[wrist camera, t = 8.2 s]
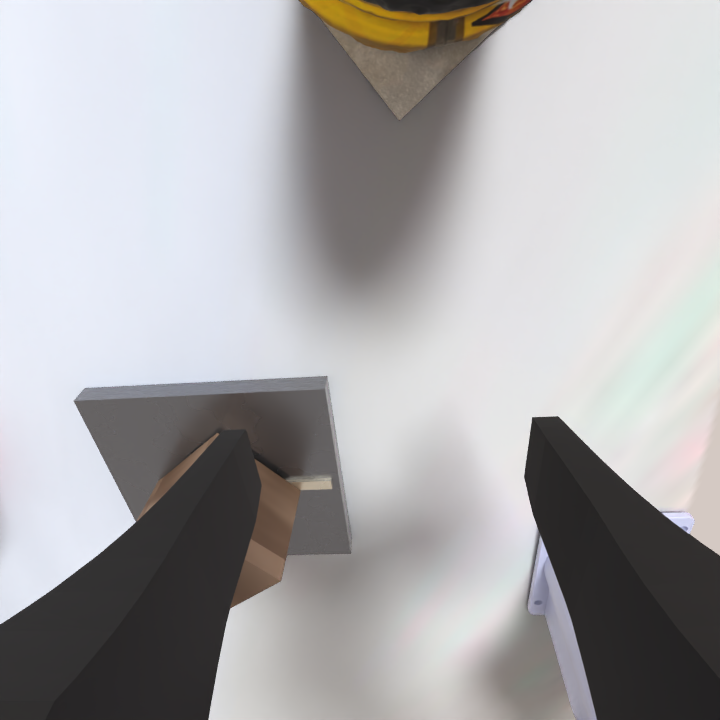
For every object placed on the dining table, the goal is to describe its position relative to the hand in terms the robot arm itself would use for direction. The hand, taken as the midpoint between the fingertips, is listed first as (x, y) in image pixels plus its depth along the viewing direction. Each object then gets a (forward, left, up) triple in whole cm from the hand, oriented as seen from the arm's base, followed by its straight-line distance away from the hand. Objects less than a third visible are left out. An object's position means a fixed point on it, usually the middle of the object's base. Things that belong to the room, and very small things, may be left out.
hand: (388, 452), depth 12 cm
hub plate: (-10, +9, -9) cm, 16 cm away
